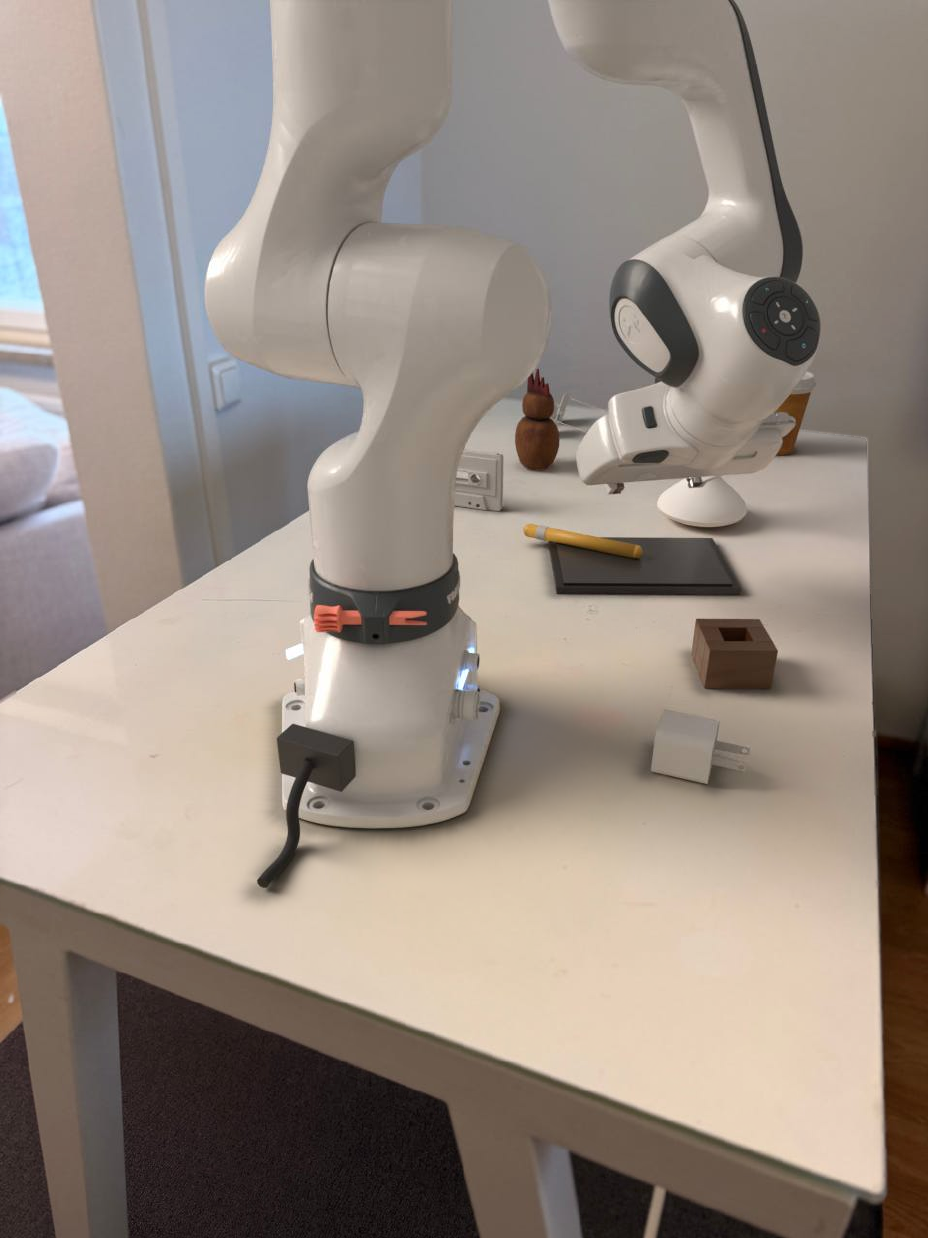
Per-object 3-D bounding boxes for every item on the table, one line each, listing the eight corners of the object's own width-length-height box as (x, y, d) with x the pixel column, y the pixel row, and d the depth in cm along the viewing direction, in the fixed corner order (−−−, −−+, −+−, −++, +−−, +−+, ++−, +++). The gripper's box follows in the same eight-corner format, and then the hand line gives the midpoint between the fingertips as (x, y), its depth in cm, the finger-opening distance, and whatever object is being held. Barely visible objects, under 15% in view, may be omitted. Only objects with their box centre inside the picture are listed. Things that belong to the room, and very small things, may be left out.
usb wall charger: (659, 746, 74) (665, 705, 72) (747, 765, 72) (754, 724, 70) (650, 775, 71) (655, 733, 69) (741, 796, 68) (749, 753, 66)
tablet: (740, 594, 98) (741, 586, 98) (556, 593, 99) (556, 585, 98) (711, 543, 111) (712, 536, 110) (548, 542, 111) (548, 535, 110)
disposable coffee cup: (810, 446, 145) (823, 370, 139) (794, 462, 138) (808, 383, 132) (751, 437, 150) (762, 363, 144) (733, 452, 143) (744, 375, 137)
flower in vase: (763, 527, 115) (797, 324, 103) (688, 541, 111) (714, 331, 100) (703, 494, 126) (728, 306, 114) (632, 505, 122) (650, 312, 110)
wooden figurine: (508, 462, 138) (510, 363, 131) (541, 457, 140) (545, 359, 133) (529, 475, 133) (533, 372, 126) (563, 470, 135) (569, 368, 128)
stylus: (639, 553, 103) (520, 529, 109) (640, 563, 104) (522, 538, 110) (644, 542, 104) (525, 519, 110) (645, 552, 105) (527, 528, 111)
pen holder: (771, 689, 82) (778, 650, 80) (704, 688, 82) (709, 650, 80) (753, 655, 87) (759, 618, 85) (690, 654, 87) (695, 618, 85)
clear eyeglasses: (563, 417, 160) (569, 390, 158) (608, 429, 158) (615, 402, 156) (541, 439, 149) (547, 410, 146) (590, 452, 147) (597, 423, 144)
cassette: (504, 508, 121) (505, 452, 118) (499, 512, 120) (500, 456, 116) (423, 496, 125) (421, 442, 122) (417, 500, 124) (415, 446, 120)
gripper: (795, 384, 88) (734, 452, 101) (595, 395, 84) (558, 464, 97) (812, 443, 86) (747, 504, 99) (608, 456, 82) (569, 518, 95)
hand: (652, 484), depth 98 cm, fingers open, 8 cm apart
